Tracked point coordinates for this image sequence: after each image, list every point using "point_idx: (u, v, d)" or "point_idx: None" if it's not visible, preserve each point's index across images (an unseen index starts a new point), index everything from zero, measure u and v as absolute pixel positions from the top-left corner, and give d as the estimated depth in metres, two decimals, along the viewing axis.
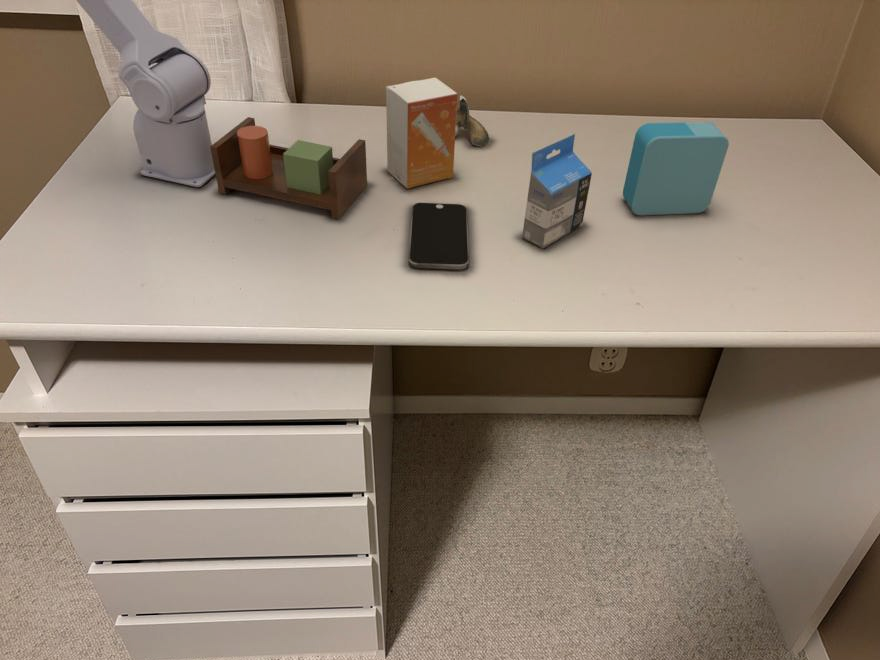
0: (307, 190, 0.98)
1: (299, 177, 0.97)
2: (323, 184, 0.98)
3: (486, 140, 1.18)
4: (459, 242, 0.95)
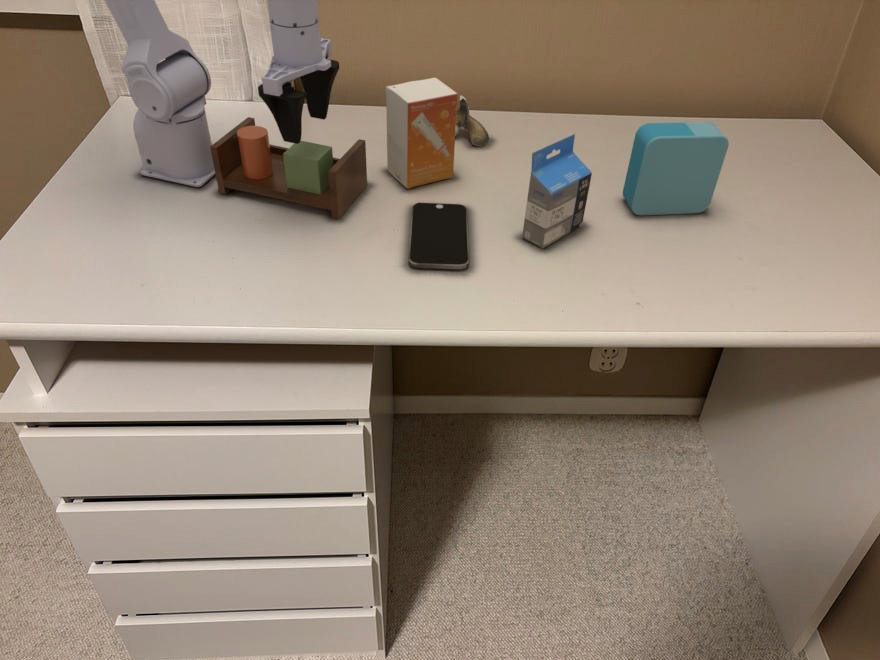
0: (307, 190, 0.98)
1: (299, 177, 0.97)
2: (323, 184, 0.98)
3: (486, 140, 1.18)
4: (459, 242, 0.95)
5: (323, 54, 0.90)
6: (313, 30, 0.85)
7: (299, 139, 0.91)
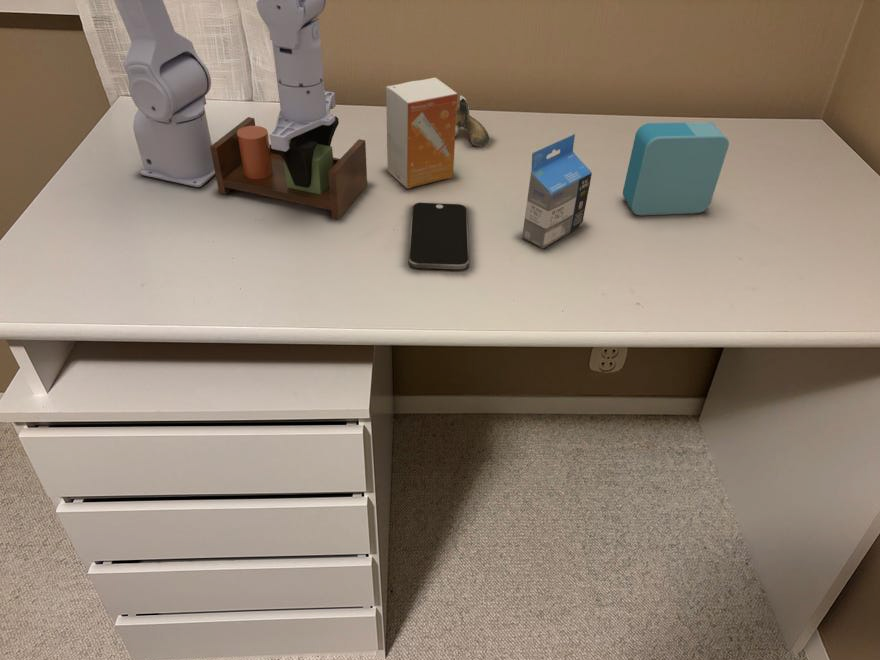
0: (307, 190, 0.98)
1: None
2: (323, 184, 0.98)
3: (486, 140, 1.18)
4: (459, 242, 0.95)
5: (327, 108, 0.94)
6: (318, 89, 0.89)
7: (309, 183, 0.97)
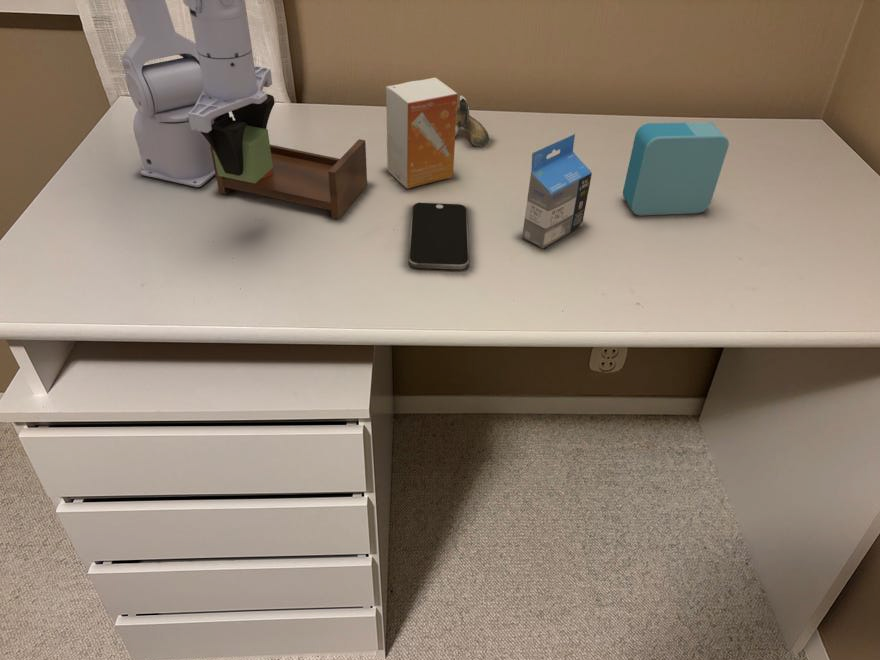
0: (240, 178, 0.87)
1: None
2: (258, 172, 0.87)
3: (486, 140, 1.18)
4: (459, 242, 0.95)
5: (259, 85, 0.83)
6: (245, 61, 0.78)
7: (241, 171, 0.86)
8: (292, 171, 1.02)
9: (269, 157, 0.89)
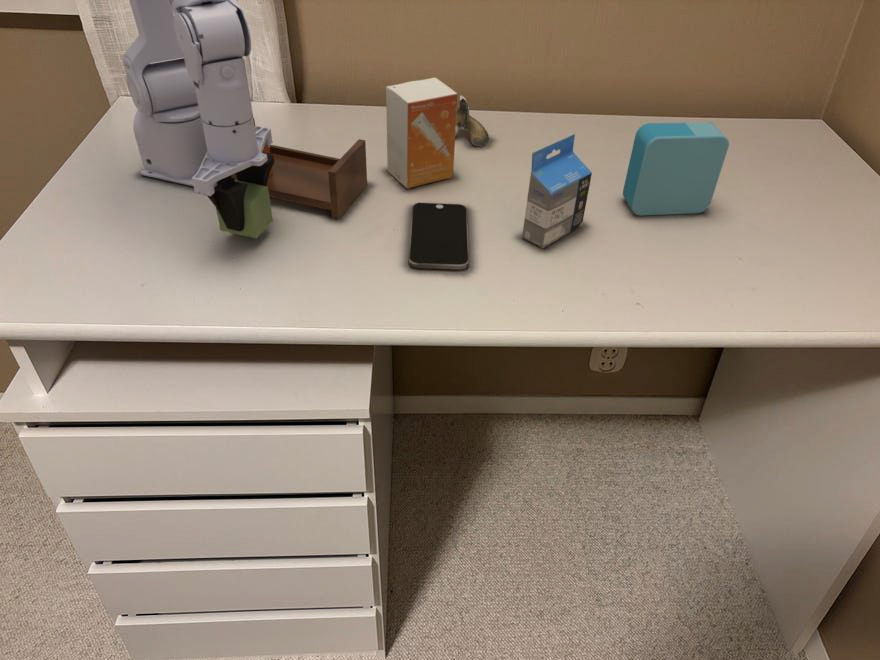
0: (241, 233, 0.91)
1: None
2: (258, 227, 0.91)
3: (486, 140, 1.18)
4: (459, 242, 0.95)
5: (260, 147, 0.87)
6: (246, 127, 0.82)
7: (242, 227, 0.90)
8: (292, 171, 1.02)
9: (270, 212, 0.93)
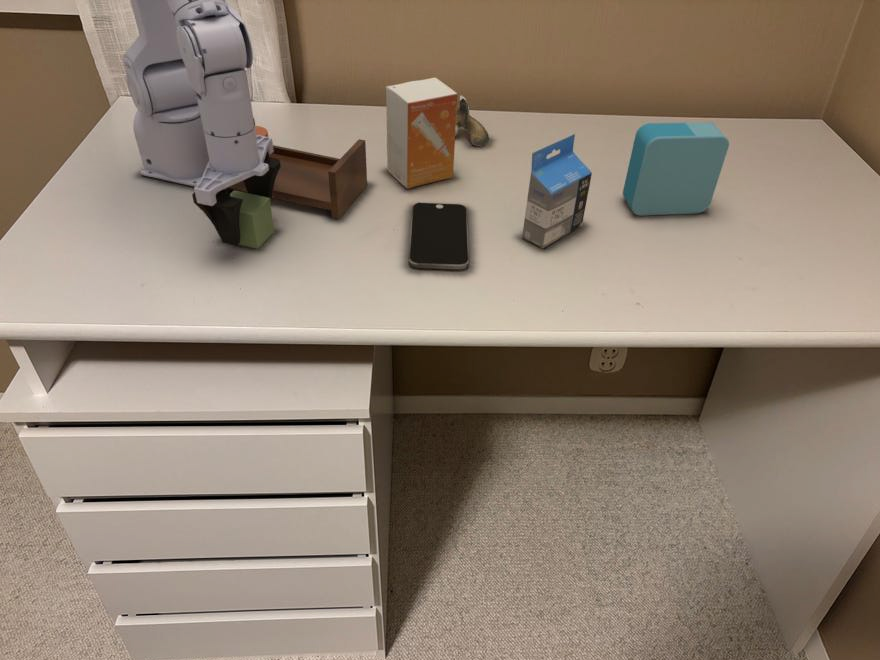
0: (243, 244, 0.92)
1: None
2: (260, 238, 0.92)
3: (486, 140, 1.18)
4: (459, 242, 0.95)
5: (261, 157, 0.88)
6: (248, 138, 0.83)
7: (238, 241, 0.90)
8: (292, 171, 1.02)
9: (271, 222, 0.94)
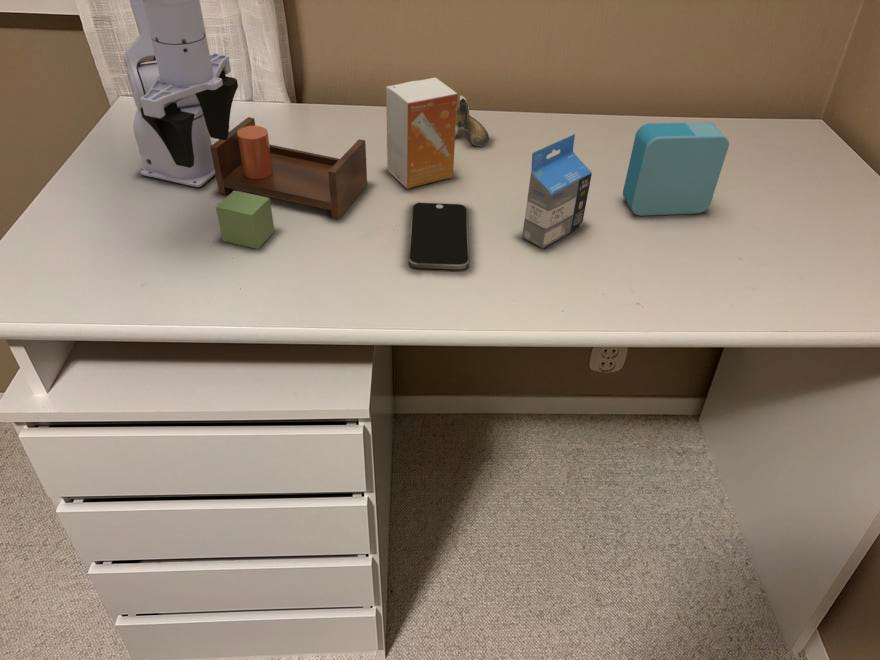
0: (243, 244, 0.92)
1: (234, 230, 0.91)
2: (260, 238, 0.92)
3: (486, 140, 1.18)
4: (459, 242, 0.95)
5: (215, 72, 0.83)
6: (198, 47, 0.79)
7: (191, 163, 0.85)
8: (292, 171, 1.02)
9: (271, 222, 0.94)
